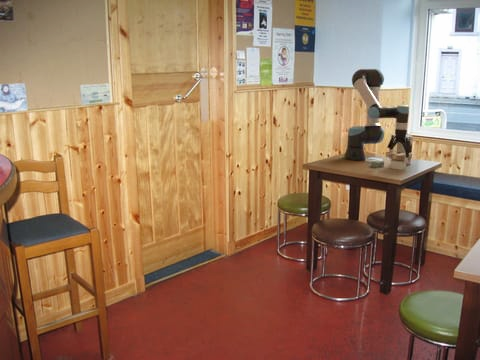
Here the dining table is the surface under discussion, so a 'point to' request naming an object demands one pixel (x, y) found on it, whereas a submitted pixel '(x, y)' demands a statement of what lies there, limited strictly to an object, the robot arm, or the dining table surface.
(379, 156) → the dining table surface
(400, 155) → the lid
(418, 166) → the dining table surface
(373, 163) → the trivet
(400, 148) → the container
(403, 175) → the dining table surface
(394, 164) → the bowl
